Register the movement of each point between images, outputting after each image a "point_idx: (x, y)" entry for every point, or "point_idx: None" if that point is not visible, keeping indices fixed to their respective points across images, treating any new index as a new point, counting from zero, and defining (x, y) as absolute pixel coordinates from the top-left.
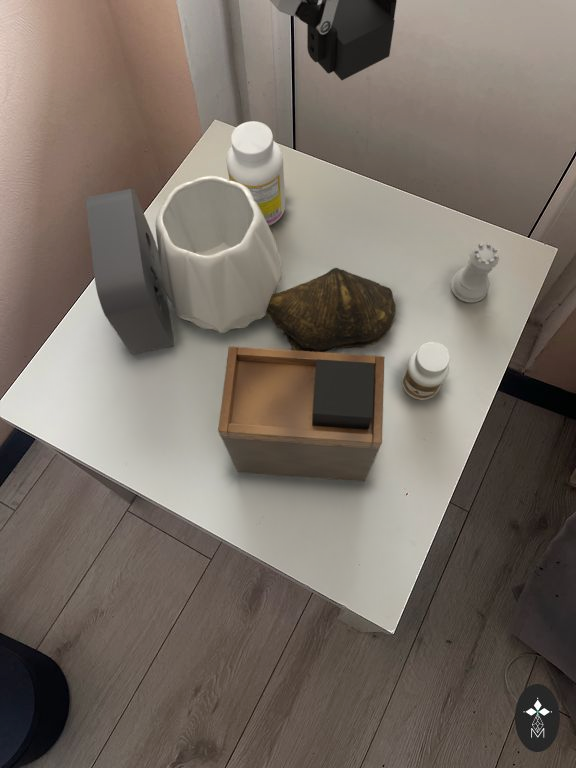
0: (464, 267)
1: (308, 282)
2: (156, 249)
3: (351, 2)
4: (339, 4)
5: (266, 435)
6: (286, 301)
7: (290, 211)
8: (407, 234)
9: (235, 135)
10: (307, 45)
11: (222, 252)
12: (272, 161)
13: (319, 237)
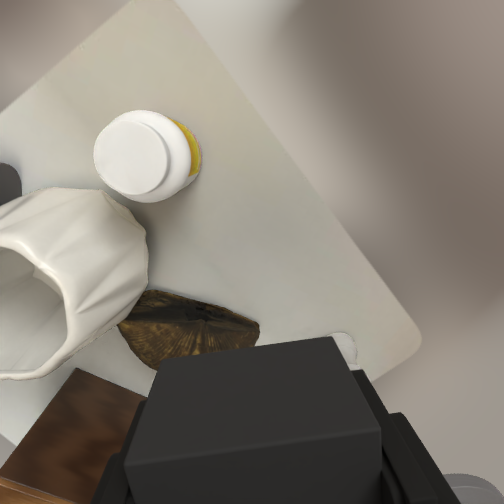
0: (342, 339)
1: (164, 325)
2: (6, 176)
3: (296, 493)
4: (245, 490)
5: None
6: (132, 333)
7: (204, 178)
8: (315, 267)
9: (103, 141)
10: (104, 470)
11: (2, 376)
12: (163, 187)
13: (221, 228)
